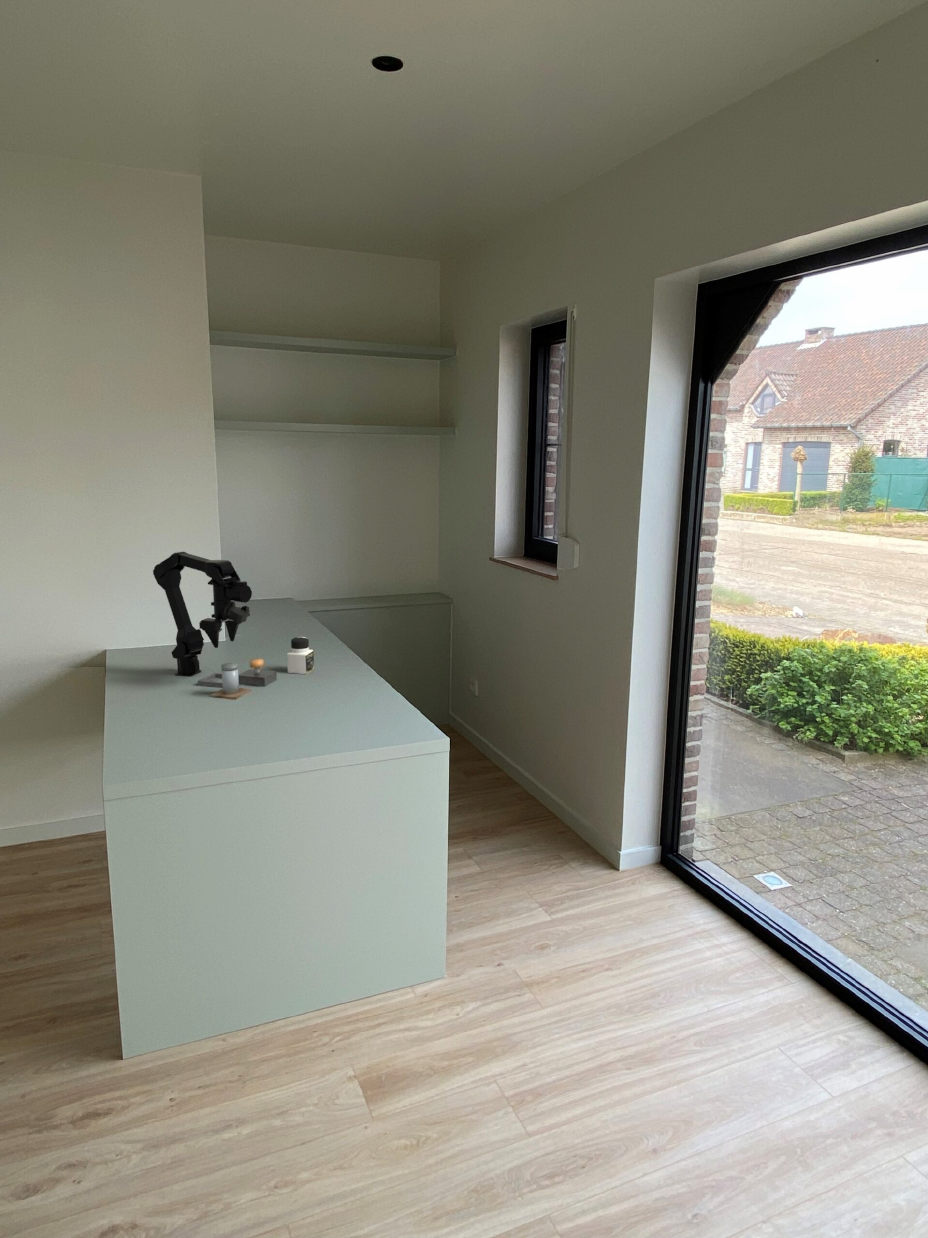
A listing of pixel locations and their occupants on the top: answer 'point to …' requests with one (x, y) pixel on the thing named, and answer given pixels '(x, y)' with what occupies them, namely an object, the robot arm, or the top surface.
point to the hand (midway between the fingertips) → (224, 644)
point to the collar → (207, 682)
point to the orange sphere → (256, 665)
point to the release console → (257, 677)
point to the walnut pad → (231, 696)
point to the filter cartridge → (230, 678)
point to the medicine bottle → (300, 656)
